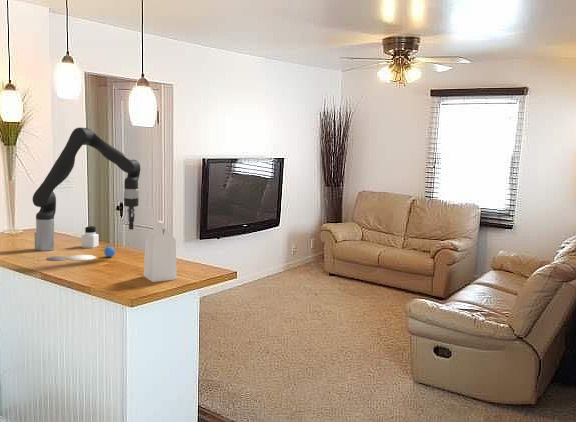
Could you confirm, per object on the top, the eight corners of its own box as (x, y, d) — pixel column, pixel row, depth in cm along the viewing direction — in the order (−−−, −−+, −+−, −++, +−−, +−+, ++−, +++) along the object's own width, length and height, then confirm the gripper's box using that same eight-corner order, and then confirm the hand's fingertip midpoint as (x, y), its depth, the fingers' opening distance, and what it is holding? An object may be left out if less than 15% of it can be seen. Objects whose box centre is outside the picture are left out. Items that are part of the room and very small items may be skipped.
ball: (102, 257, 293) (102, 247, 293) (107, 255, 299) (107, 245, 298) (112, 258, 292) (112, 247, 292) (117, 256, 298) (117, 246, 297)
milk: (177, 279, 252) (177, 222, 250) (152, 281, 246) (153, 223, 243) (167, 273, 262) (168, 219, 259) (143, 276, 256) (144, 220, 253)
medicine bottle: (98, 246, 325) (98, 225, 324) (93, 248, 318) (93, 227, 317) (87, 245, 326) (87, 225, 325) (81, 247, 319) (81, 226, 318)
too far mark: (42, 259, 282) (42, 259, 282) (53, 256, 292) (53, 255, 292) (60, 261, 281) (60, 260, 281) (71, 257, 291) (71, 257, 291)
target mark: (61, 259, 285) (61, 259, 285) (76, 254, 299) (76, 254, 299) (87, 261, 283) (87, 261, 283) (100, 256, 296) (100, 255, 296)
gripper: (123, 196, 301) (122, 227, 303) (124, 198, 288) (124, 231, 290) (137, 196, 303) (137, 227, 305) (139, 198, 291) (139, 231, 293)
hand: (131, 229), depth 298 cm, fingers closed
